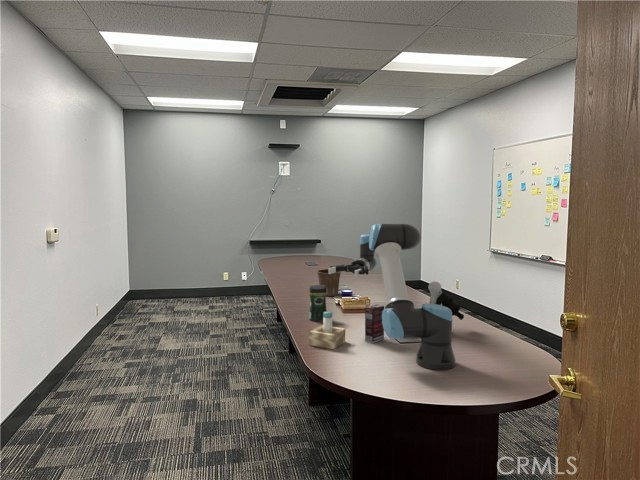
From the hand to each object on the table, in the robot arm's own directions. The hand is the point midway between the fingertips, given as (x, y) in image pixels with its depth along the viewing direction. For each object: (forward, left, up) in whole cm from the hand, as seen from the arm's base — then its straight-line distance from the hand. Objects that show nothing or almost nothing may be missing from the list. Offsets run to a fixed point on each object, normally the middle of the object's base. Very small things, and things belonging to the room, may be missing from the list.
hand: (342, 272), depth 219 cm
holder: (0, +15, -30) cm, 33 cm away
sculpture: (-41, -29, -30) cm, 59 cm away
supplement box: (-17, +1, -30) cm, 35 cm away
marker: (0, +15, -30) cm, 33 cm away
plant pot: (+46, -78, -30) cm, 96 cm away
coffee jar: (+23, -19, -30) cm, 43 cm away
